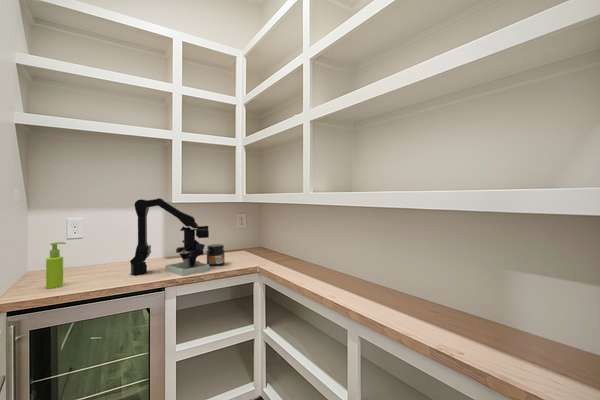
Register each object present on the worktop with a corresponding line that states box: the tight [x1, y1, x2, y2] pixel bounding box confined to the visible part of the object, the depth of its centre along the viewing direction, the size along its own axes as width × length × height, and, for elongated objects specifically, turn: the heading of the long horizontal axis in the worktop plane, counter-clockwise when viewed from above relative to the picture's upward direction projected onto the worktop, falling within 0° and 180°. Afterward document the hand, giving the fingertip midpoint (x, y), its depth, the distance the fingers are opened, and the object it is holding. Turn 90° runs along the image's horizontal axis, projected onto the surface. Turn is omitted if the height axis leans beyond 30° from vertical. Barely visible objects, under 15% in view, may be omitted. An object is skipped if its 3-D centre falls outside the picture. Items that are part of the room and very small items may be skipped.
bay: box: [164, 261, 210, 277], centre depth 155 cm, size 16×19×4 cm
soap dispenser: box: [45, 241, 67, 289], centre depth 129 cm, size 6×7×20 cm
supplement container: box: [206, 243, 226, 267], centre depth 170 cm, size 10×10×12 cm
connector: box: [182, 259, 201, 270], centre depth 157 cm, size 8×4×6 cm, turn 141°
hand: (189, 266), depth 156 cm, fingers open, 5 cm apart
